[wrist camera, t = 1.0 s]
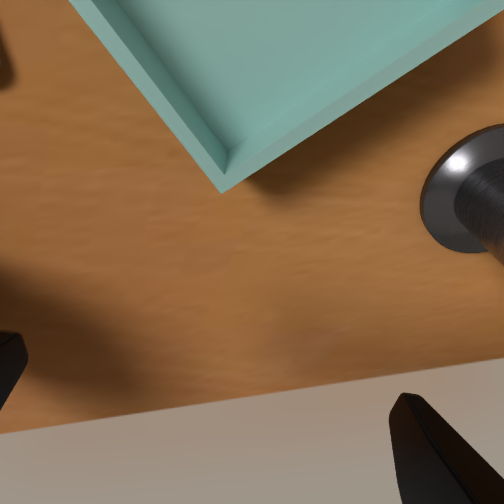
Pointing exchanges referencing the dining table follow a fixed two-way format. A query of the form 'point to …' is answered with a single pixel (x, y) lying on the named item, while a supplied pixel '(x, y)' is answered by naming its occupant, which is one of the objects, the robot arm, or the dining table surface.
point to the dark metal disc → (449, 180)
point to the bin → (268, 64)
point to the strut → (484, 206)
